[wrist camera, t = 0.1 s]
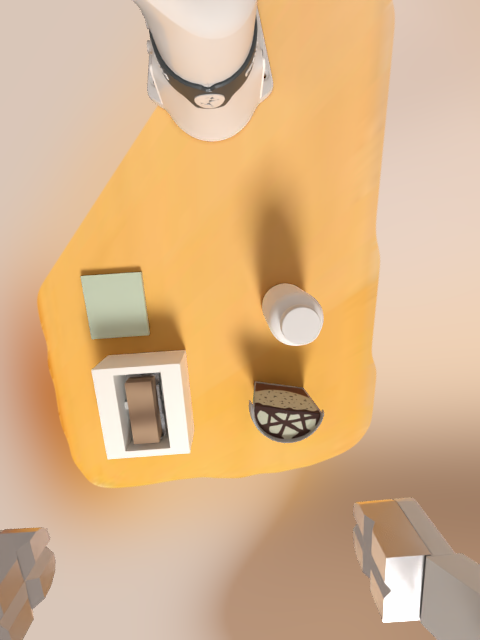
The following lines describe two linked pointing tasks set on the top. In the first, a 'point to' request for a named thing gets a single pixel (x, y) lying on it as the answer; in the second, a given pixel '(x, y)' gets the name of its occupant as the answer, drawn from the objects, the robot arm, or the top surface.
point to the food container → (284, 412)
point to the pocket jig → (115, 406)
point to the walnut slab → (143, 409)
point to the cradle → (159, 394)
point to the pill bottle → (292, 314)
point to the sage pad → (116, 305)
